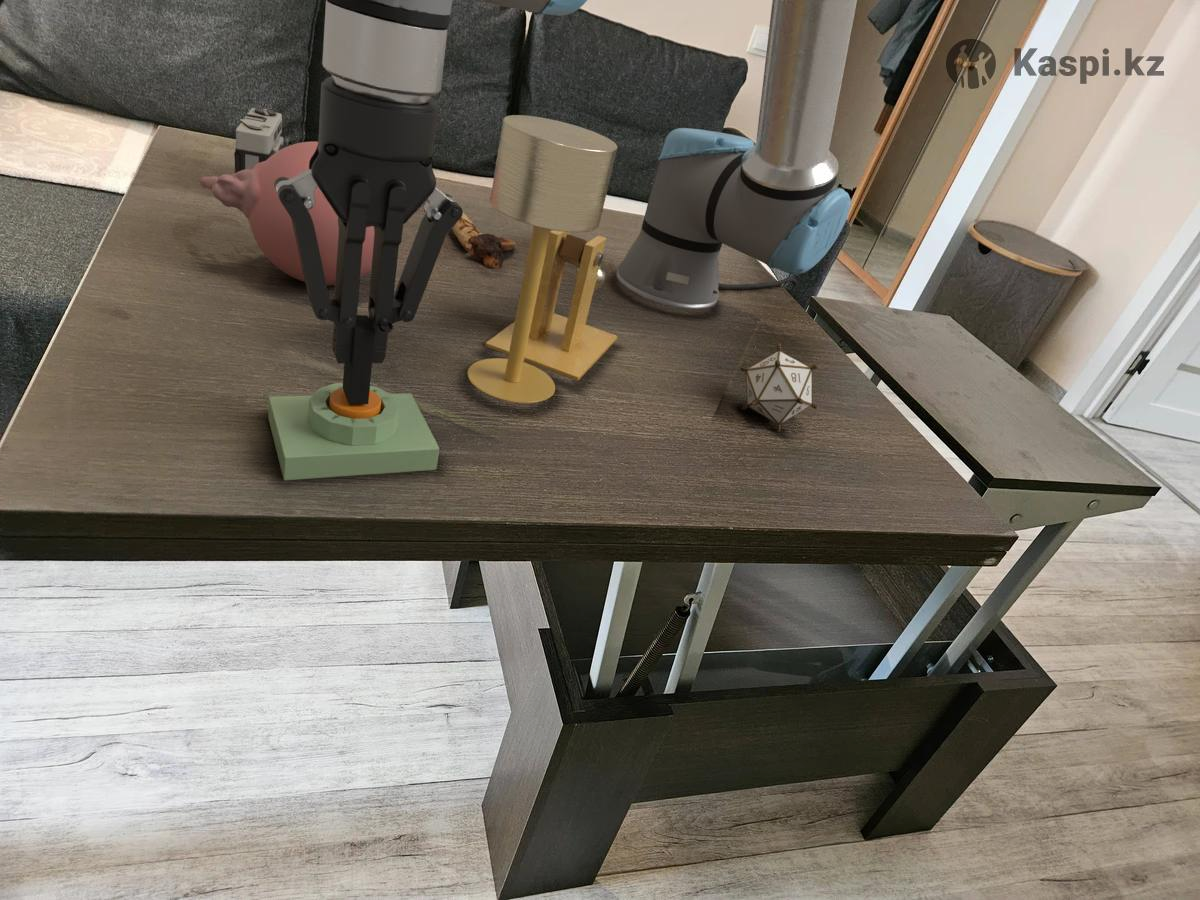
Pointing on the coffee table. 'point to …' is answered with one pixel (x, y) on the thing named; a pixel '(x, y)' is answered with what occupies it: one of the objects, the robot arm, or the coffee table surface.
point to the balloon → (284, 212)
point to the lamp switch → (578, 256)
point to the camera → (257, 138)
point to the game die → (779, 387)
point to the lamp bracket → (555, 336)
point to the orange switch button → (354, 411)
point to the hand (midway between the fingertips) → (355, 395)
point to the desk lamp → (541, 225)
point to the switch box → (349, 437)
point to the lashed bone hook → (481, 243)
